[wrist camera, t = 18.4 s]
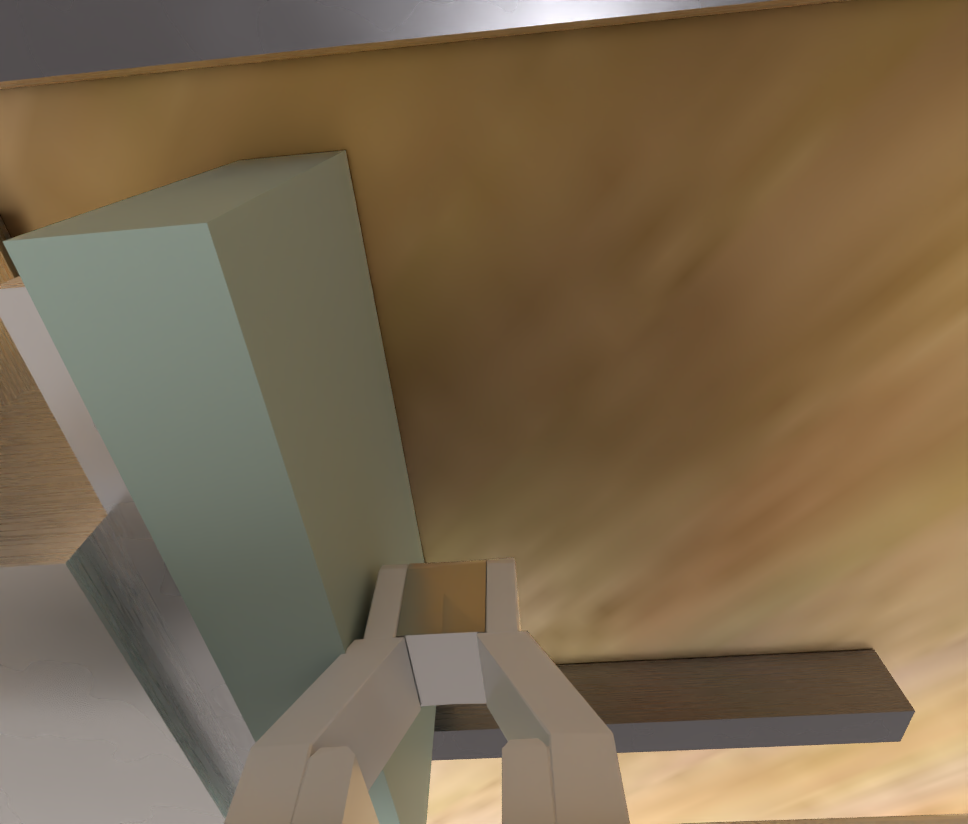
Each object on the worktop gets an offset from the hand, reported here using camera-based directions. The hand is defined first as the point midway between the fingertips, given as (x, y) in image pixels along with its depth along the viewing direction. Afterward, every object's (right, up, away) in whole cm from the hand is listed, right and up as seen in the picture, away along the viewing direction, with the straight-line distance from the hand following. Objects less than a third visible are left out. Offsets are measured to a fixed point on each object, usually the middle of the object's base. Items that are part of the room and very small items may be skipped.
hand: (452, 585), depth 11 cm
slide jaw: (-2, +2, +4) cm, 5 cm away
